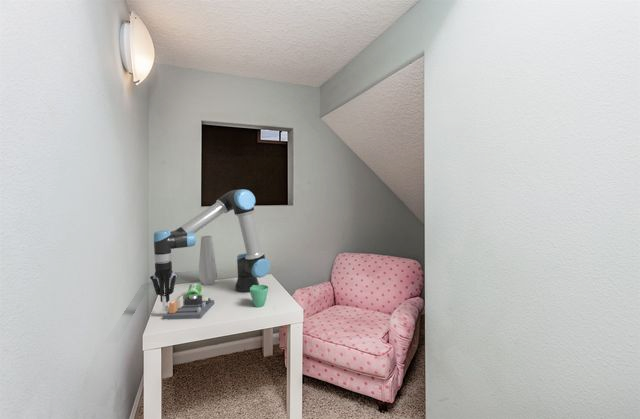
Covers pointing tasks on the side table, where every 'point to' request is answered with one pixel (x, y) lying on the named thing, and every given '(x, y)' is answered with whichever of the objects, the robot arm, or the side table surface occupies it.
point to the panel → (191, 309)
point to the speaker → (194, 289)
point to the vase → (207, 261)
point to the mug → (259, 294)
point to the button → (193, 296)
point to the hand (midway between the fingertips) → (165, 307)
